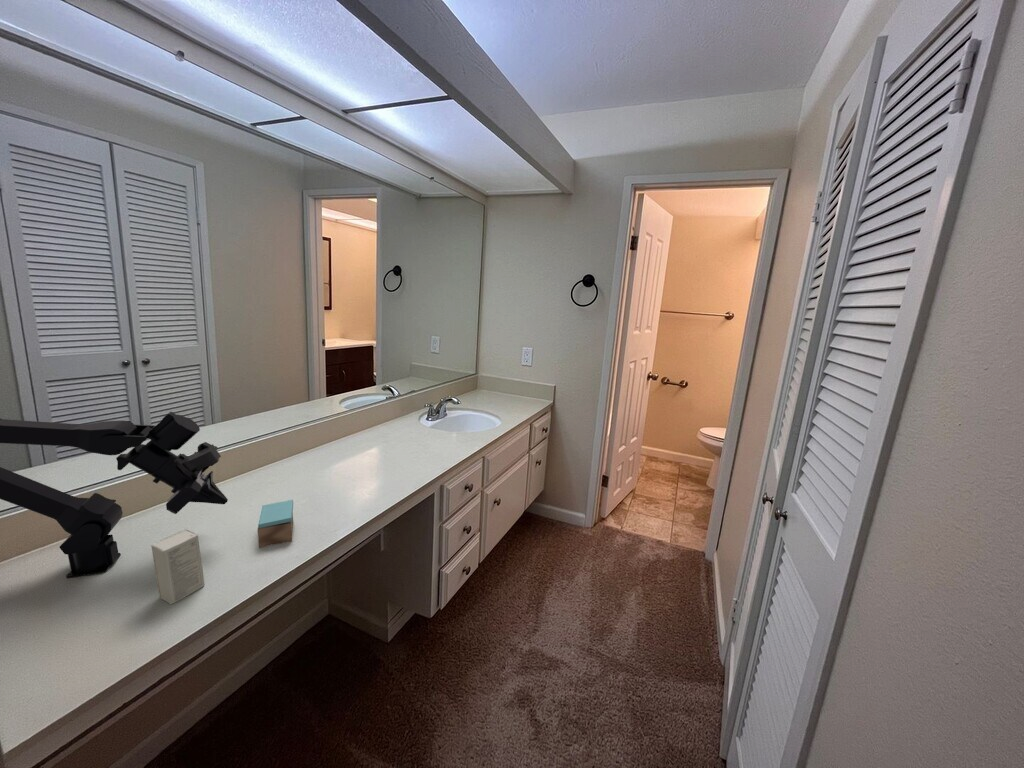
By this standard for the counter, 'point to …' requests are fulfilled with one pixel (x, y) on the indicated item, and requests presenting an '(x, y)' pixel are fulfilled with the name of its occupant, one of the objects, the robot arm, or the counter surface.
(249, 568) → the counter surface
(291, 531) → the case
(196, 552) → the skincare box
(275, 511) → the lid
